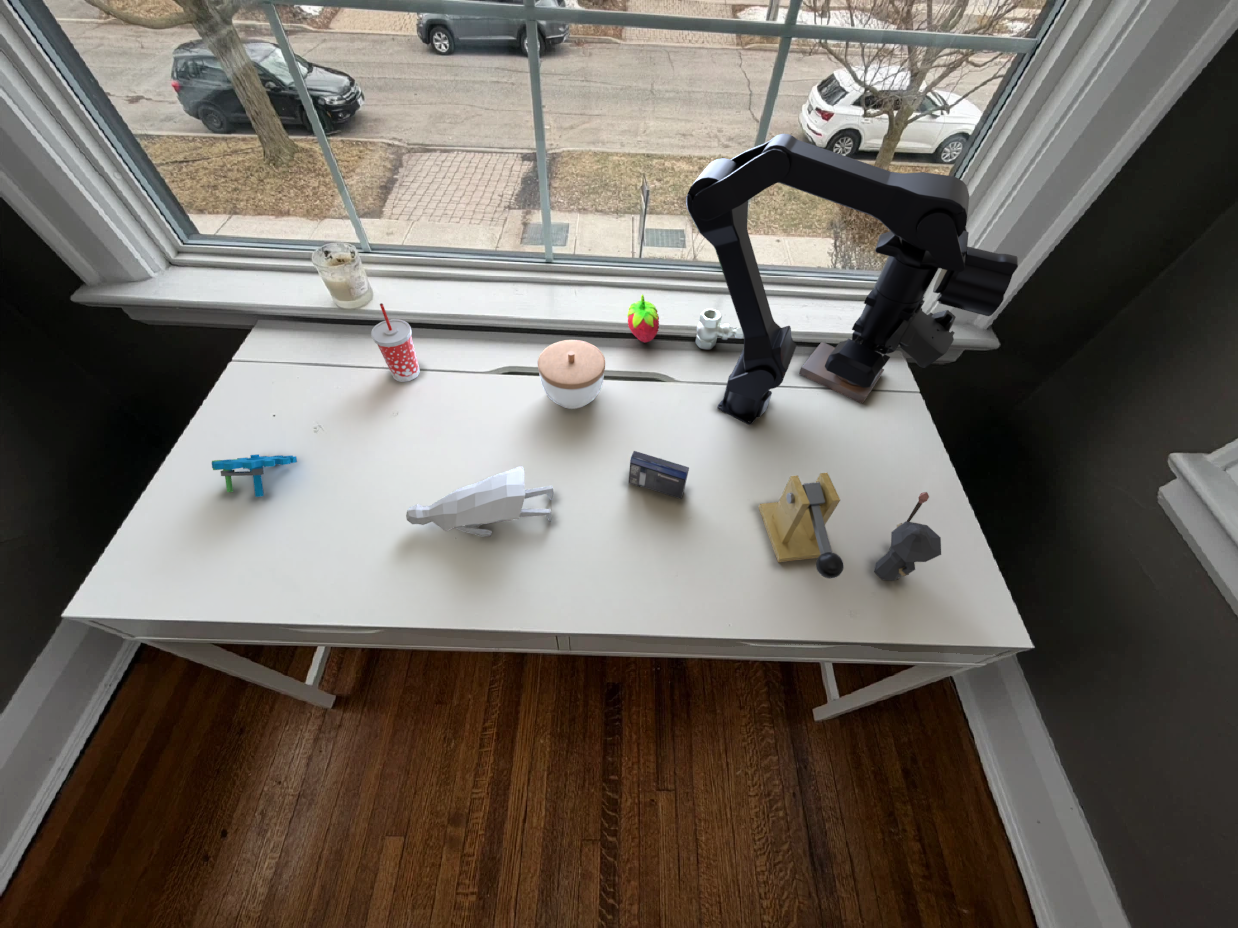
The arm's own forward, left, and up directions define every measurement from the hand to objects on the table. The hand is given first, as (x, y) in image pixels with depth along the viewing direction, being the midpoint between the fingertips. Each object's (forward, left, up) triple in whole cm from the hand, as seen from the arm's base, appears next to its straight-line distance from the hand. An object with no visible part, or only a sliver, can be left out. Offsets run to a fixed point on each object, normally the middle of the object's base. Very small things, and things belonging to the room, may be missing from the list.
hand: (852, 382), depth 80 cm
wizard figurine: (+16, -17, -12) cm, 26 cm away
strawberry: (-37, 0, -12) cm, 39 cm away
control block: (-4, +15, -12) cm, 19 cm away
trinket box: (-38, -19, -12) cm, 44 cm away
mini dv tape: (-16, -26, -12) cm, 33 cm away
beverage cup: (-64, -33, -12) cm, 73 cm away
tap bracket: (+4, -21, -12) cm, 24 cm away
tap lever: (+6, -23, -5) cm, 25 cm away
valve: (-24, +9, -12) cm, 28 cm away
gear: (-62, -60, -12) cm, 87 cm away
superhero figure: (-32, -45, -12) cm, 57 cm away
